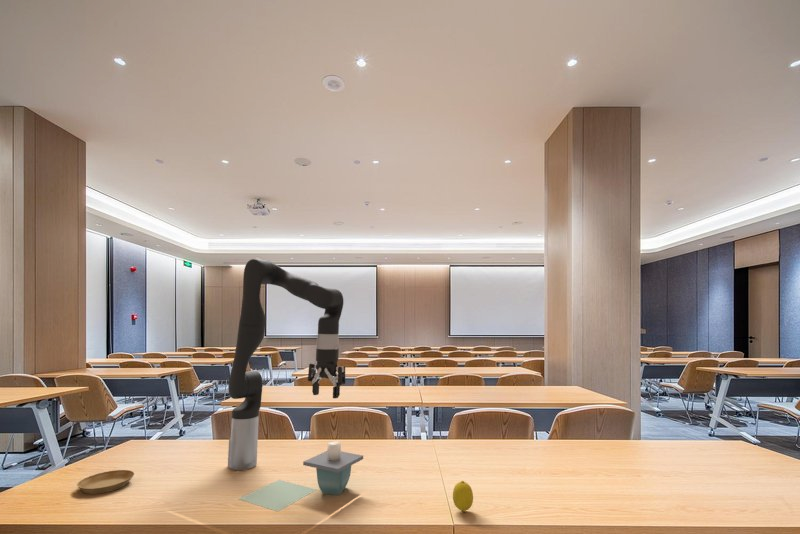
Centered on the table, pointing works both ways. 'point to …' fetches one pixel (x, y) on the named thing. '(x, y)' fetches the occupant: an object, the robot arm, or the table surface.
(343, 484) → the flower pot
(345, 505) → the table surface
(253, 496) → the mat
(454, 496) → the lemon
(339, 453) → the lid
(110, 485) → the plant saucer
